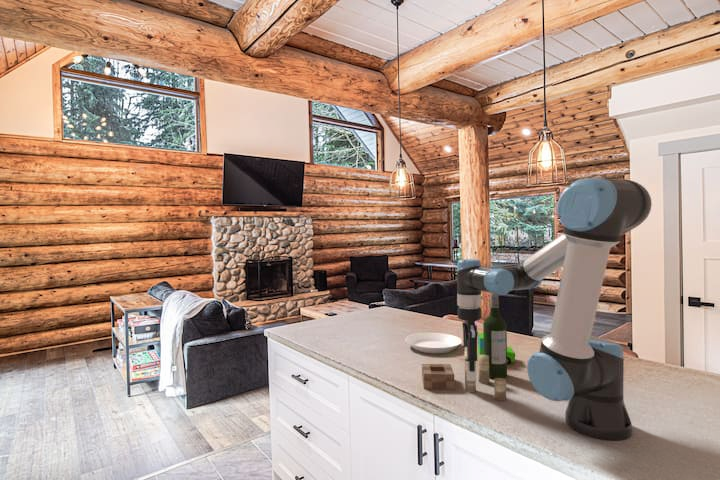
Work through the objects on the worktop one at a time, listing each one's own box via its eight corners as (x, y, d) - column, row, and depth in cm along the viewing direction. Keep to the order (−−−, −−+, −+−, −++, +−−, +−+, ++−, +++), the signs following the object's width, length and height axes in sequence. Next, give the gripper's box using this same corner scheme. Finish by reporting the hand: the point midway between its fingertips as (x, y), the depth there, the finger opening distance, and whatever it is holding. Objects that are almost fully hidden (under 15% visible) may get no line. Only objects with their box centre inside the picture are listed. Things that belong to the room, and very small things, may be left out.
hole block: (454, 389, 132) (454, 374, 132) (424, 388, 133) (423, 373, 133) (450, 378, 142) (450, 364, 142) (422, 377, 143) (421, 363, 143)
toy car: (516, 366, 153) (516, 340, 153) (480, 364, 156) (480, 339, 156) (511, 357, 163) (511, 333, 163) (478, 356, 166) (477, 332, 166)
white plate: (402, 354, 171) (401, 346, 171) (409, 339, 195) (408, 331, 195) (462, 357, 165) (462, 349, 165) (461, 341, 189) (461, 333, 189)
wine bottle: (496, 370, 149) (495, 290, 148) (512, 377, 141) (511, 293, 141) (479, 373, 146) (478, 291, 145) (493, 381, 138) (492, 294, 138)
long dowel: (476, 392, 129) (476, 349, 128) (466, 392, 129) (465, 349, 129) (474, 388, 132) (474, 346, 132) (464, 388, 132) (463, 346, 132)
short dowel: (507, 401, 122) (507, 382, 122) (496, 401, 122) (496, 381, 122) (504, 396, 125) (504, 377, 125) (493, 396, 126) (493, 377, 125)
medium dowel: (490, 383, 136) (489, 357, 136) (480, 383, 136) (479, 357, 136) (488, 380, 139) (487, 354, 139) (478, 380, 140) (477, 354, 139)
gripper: (486, 311, 121) (487, 388, 122) (476, 302, 138) (477, 369, 138) (461, 311, 122) (462, 387, 123) (454, 302, 138) (455, 369, 139)
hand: (470, 378), depth 130 cm, fingers closed on long dowel, 3 cm apart
